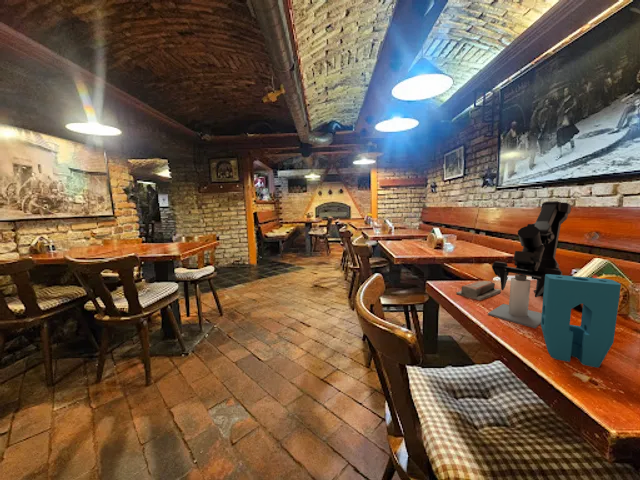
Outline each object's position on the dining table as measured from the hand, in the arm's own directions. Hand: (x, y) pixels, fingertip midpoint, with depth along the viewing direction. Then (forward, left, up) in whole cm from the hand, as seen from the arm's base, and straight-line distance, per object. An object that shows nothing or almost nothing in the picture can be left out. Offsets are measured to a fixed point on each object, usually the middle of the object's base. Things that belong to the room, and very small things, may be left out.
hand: (518, 292), depth 84 cm
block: (+22, +9, -9) cm, 26 cm away
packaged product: (-21, -12, -9) cm, 26 cm away
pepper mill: (-1, 0, -8) cm, 8 cm away
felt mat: (-1, 0, -8) cm, 8 cm away
